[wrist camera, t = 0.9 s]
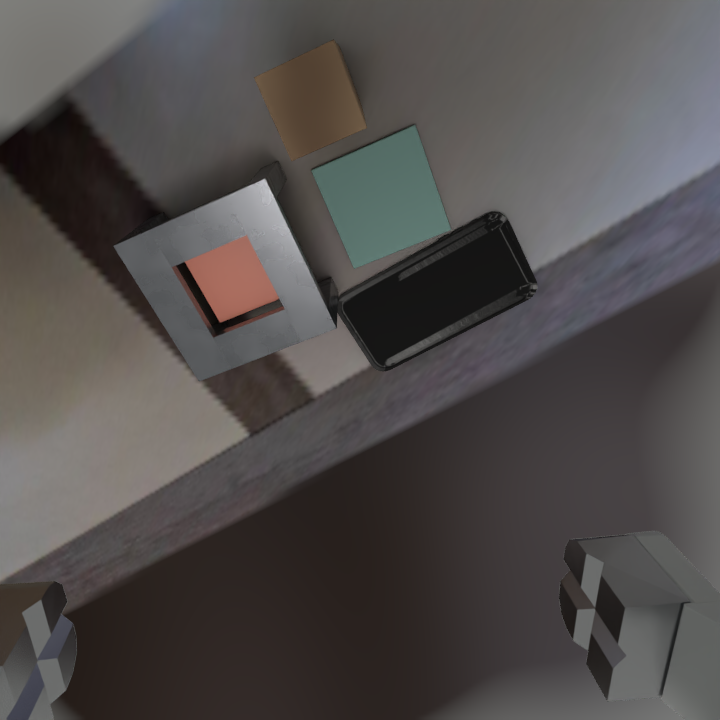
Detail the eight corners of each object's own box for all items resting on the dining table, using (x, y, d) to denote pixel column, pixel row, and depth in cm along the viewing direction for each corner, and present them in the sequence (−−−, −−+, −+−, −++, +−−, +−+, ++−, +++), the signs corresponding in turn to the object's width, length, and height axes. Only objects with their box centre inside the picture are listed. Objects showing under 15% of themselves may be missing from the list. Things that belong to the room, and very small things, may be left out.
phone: (541, 292, 46) (378, 375, 49) (537, 287, 47) (377, 369, 50) (502, 206, 42) (330, 302, 46) (498, 203, 43) (330, 297, 47)
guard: (278, 160, 41) (265, 178, 35) (338, 292, 46) (336, 328, 40) (147, 219, 43) (113, 246, 37) (218, 339, 48) (198, 381, 42)
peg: (339, 46, 38) (333, 39, 26) (362, 106, 40) (366, 127, 27) (285, 71, 39) (253, 77, 26) (309, 130, 40) (291, 161, 28)
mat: (414, 124, 40) (415, 125, 40) (450, 228, 44) (451, 229, 43) (311, 169, 42) (311, 170, 41) (354, 266, 45) (354, 268, 45)
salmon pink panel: (255, 222, 41) (250, 230, 39) (287, 286, 43) (283, 297, 41) (191, 250, 41) (183, 259, 40) (225, 311, 44) (220, 322, 42)
